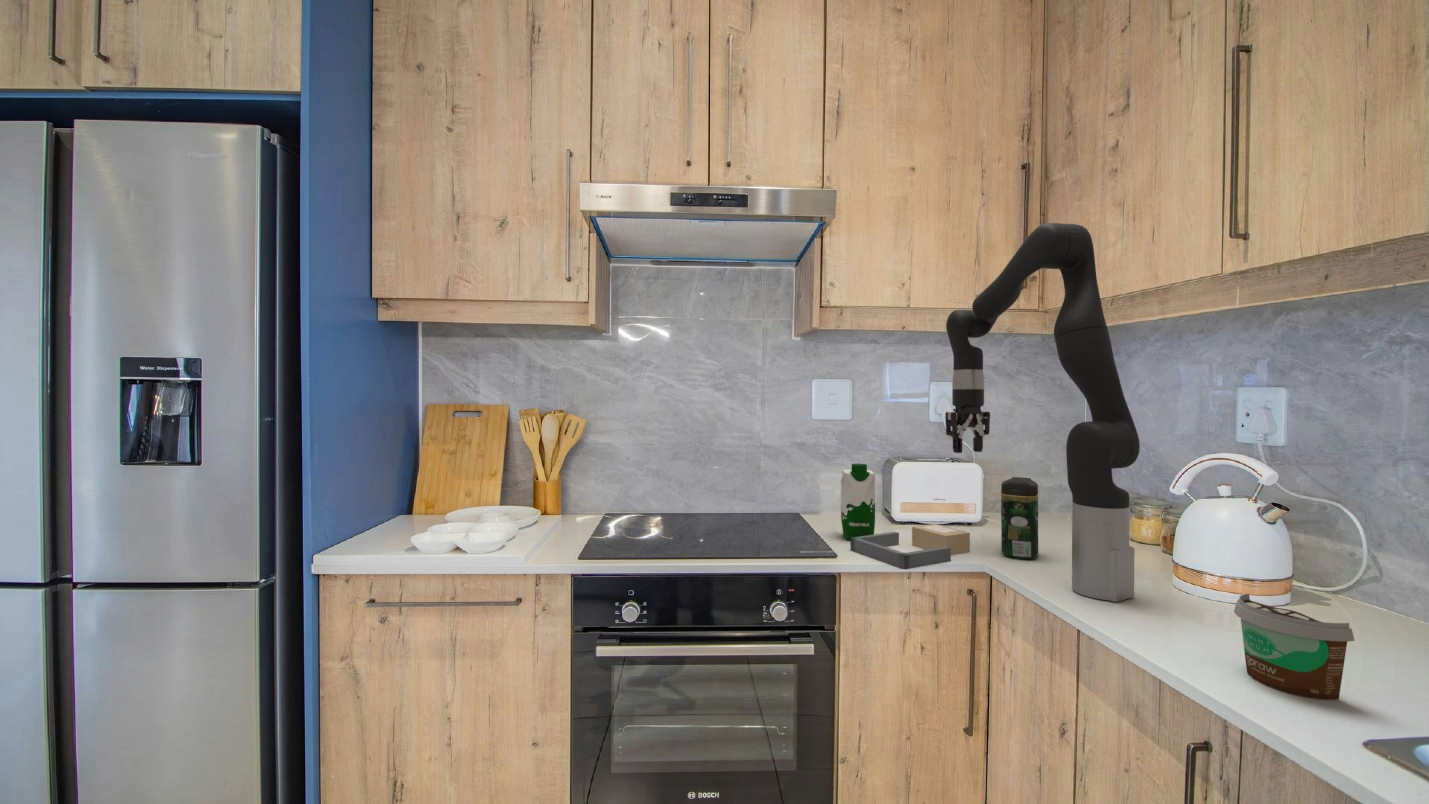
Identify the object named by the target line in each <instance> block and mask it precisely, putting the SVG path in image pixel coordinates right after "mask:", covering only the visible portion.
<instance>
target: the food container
mask: <svg viewBox="0 0 1429 804" xmlns="http://www.w3.org/2000/svg"><path fill="white" fill-rule="evenodd" d="M1233 613H1234V614H1235V615H1236V616H1237V617H1238V618H1240V624H1241V633H1242V641H1243V650H1244V659H1245V667H1246V669H1245V670H1246V673H1247V675H1248V676H1249V677H1250V678H1251V679H1253V680H1254V681H1256V682H1257V683H1260V684H1262V685H1264V686H1266V687H1269V688H1271V689H1274V690H1277V691H1280V692H1284V693H1286V694H1290V695H1294V696H1299V697H1301V698H1308V699H1316V700H1325V701H1327V700H1328V701H1329V700H1331V701H1332V700H1340V694H1341V686H1342V680H1343V673H1344V667H1345V660H1346V652H1347V648H1348V647H1347V645H1348V642H1355V638H1354V632H1353V628H1350V622H1324V621H1320V620H1317V619H1315V618H1313V617H1310V616H1307V615H1305V614H1304V613H1301V612H1299V611H1295V610H1291V609H1288V608H1281V607H1275V606H1270V605H1266V604H1263V603H1260V602H1257V601H1254V600H1251V599H1250V593H1243V594H1241V595H1240V596H1239V598H1238V599H1237V601H1236V603H1235V607H1234V610H1233Z"/></svg>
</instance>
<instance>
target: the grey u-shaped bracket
mask: <svg viewBox="0 0 1429 804" xmlns="http://www.w3.org/2000/svg"><path fill="white" fill-rule="evenodd" d="M898 545H900V533H899V532H897V531H891V532H883V533H876V534H875V533H874V535H867V536H860V537H853V538H851V541H850V551H853V552H855V553H859V554H861V555H863V556H867V557H870V558H872V559H874V560H877V561H880V562H883V563H886V564H890V565H892V566H895V567H898V568H899V569H903V570H905V569H911V568H917V567H922V566H928V565H934V564H935V565H936V564H940V563H944V562H950V561H952V555H951V548H950V547H947V546H944V547H938V548H932V549H921V550H915V551H910V552H909V551H908V552H903V551H899V550H896V549H893V548H889V547H891V546H898Z"/></svg>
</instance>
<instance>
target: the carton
mask: <svg viewBox="0 0 1429 804" xmlns="http://www.w3.org/2000/svg"><path fill="white" fill-rule="evenodd" d="M911 527H912V528H911V545H912V546H913V547H916V548H920V549H921V550H926V549H932V548H938V547H944V546H947V547H950V548H951V556H954V555H959V554H966V553H970V552H971V551H970V550H971V543H970V542H971V533H970V532H969V531H965V530H962V529H957V528H954V527H949V526H945V525H943V524H941V525H940V524H937V523H932V524H923V525H916V526H911Z"/></svg>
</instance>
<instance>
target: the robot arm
mask: <svg viewBox="0 0 1429 804" xmlns="http://www.w3.org/2000/svg"><path fill="white" fill-rule="evenodd" d="M1041 269H1045V270H1047V269H1049V270H1059V271H1060V273H1061V277H1062V281H1063V287H1064V298H1063V301H1062V304H1061V307H1060V310H1059V312H1058V314H1057V317H1056V320H1055V323H1054V328H1053V337H1054V341H1055V346H1056V352H1057V356H1058V359H1059V363H1060V365H1061V366H1062V368H1063V370H1064V371H1065V372H1066V375H1067V376H1068V377H1069V378H1070V379H1071V380H1072V382H1073V383H1074V385H1076V387H1077V388H1078V389H1079V390H1080V392H1081V393H1082V395H1083V396H1084V399H1085V400H1086V403H1087V404H1088V408H1089V410H1090V416H1091V420H1092V421H1083V422H1079V423H1077V424H1075V425H1074V426H1073V427H1072V428H1071V430H1070V431H1069V433H1068V436H1067V439H1066V445H1065V446H1066V447H1065V449H1066V451H1065V454H1066V457H1065V458H1066V471H1067V484H1068V488H1069V490H1070V493H1071V495H1072V497H1071V498H1072V506H1071V507H1072V509H1071V510H1072V511H1071V515H1072V516H1071V520H1072V521H1071V522H1072V523H1071V526H1072V527H1071V530H1072V531H1071V532H1072V533H1071V535H1072V536H1071V541H1072V542H1071V589H1072V591H1073V592H1074V593H1076V594H1079V595H1082V596H1084V597H1089V598H1092V599H1097V600H1103V601H1104V600H1105V601H1109V602H1113V603H1118V602H1122V601H1125V600H1129V599H1132V598H1135V548H1134V547H1133V546H1131V545H1130V502H1131V501H1130V494H1129V492H1128V491H1127V490H1126V489H1123V488H1122V487H1119V486H1118V485H1116V484H1115V482H1114V479H1113V469H1125V468H1128V467H1130V466H1131V465H1133V464H1135V462H1136V461H1137V460H1138V458H1139V455H1140V449H1141V446H1140V445H1141V444H1140V437H1139V433H1138V430H1137V428H1136V425H1135V422H1134V420H1133V417H1132V413H1131V412H1130V409H1129V405H1128V403H1127V400H1126V398H1125V395H1124V391H1123V389H1122V384H1121V380H1120V376H1119V372H1118V368H1117V365H1116V361H1115V358H1114V357H1115V356H1114V353H1113V346H1112V341H1111V337H1110V333H1109V329H1108V325H1107V322H1106V318H1105V315H1104V309H1103V306H1102V305H1103V303H1102V300H1101V296H1100V294H1101V293H1100V289H1099V284H1098V280H1097V279H1098V278H1097V277H1098V276H1097V268H1096V258H1095V249H1094V243H1093V239H1092V235H1091V233H1090V231H1089V230H1088V229H1087V228H1086V227H1085V226H1083V225H1080V224H1076V223H1061V222H1060V223H1058V222H1049V223H1048V222H1047V223H1044V224H1041V225H1039V226H1037V227H1036V228H1035V229H1034V230H1033V231H1032V232H1031V233H1030V234H1029V235H1028V236H1027V238H1026V239H1024V241H1023V243H1022V244H1021V246H1020V247H1019V248H1018V249H1017V251H1016V252H1015V253H1014V255H1013V256H1012V257H1011V259H1010V260H1009V261H1008V263H1007V264H1006V266H1005V267H1004V269H1003V270H1002V271H1001V272H1000V274H999V275H998V276H997V277H995V279H994V280H993V281H992V282H991V283H990V284H989V285H988V286H987V287H986V288H984V290H982V292H981V293H980V294H979V295H977V297H976V298H975V299H973V300H974V301H973V302H972V305H971V307H972V309H956V310H953V311H952V312H950V314H949V315H948V317H947V319H946V324H945V326H946V333H947V336H948V341H949V343H950V347H951V351H952V355H953V371H952V374H953V375H952V380H951V383H952V384H951V385H952V386H951V387H952V393H951V394H952V399H951V400H952V401H951V402H952V404H951V405H952V406H953V407H955V408H954V411H952V412H951V411H946V412H945V415H944V416H945V434H946V436H949V437H951V438H952V451H953V453H954V454H962V453H963V438H962V437H963V435H964V433H965V431H967V430H968V428H969V430H970V431H971V432H972V434H973V439H972V445H973V448H972V450H973V452H976V453H981V452H983V449H984V448H983V447H984V444H983V443H984V438H985V436H986V435H990V426H991V413H990V412H991V411H984V410H983V411H982V408H981V407H983V406H984V405H985V375H984V352H983V349H982V348H980V347H978V346H974V345H972V344H971V342H970V339H969V338H971V339H973V338H974V339H975V338H976V339H978V338H981V337H984V336H986V335H987V334H989V333H990V332H991V329H993V327H994V325H995V323H996V322H997V320H998V318H999V317H1000V316H1001V315H1002V314H1003V313H1005V312H1006V311H1007V310H1008V309H1010V308H1011V307H1012V306H1013V305H1014V304H1015V303H1016V302H1017V301H1018V299H1019V297H1020V295H1021V292H1022V288H1023V284H1024V281H1025V280H1027V278H1029V277H1030V276H1031V275H1032V274H1034V273H1035V272H1037V271H1039V270H1041ZM951 429H952V430H951Z"/></svg>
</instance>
